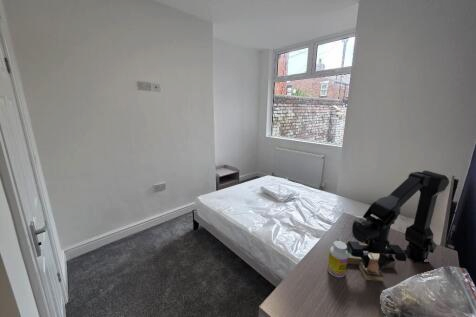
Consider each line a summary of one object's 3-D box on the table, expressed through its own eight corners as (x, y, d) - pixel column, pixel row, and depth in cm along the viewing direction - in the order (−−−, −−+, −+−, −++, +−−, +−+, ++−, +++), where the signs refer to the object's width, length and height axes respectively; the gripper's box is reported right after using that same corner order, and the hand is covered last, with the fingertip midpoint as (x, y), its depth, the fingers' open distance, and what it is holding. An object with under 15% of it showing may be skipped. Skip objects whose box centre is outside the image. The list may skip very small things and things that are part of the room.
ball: (374, 266, 80) (376, 257, 79) (380, 275, 76) (382, 265, 75) (362, 265, 81) (364, 256, 80) (367, 273, 77) (369, 264, 76)
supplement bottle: (337, 281, 76) (342, 253, 73) (323, 268, 82) (326, 242, 79) (349, 274, 79) (353, 247, 76) (334, 262, 85) (338, 237, 81)
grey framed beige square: (374, 268, 82) (375, 264, 81) (382, 281, 76) (383, 276, 75) (359, 267, 82) (359, 262, 82) (365, 279, 77) (366, 274, 76)
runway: (381, 250, 91) (383, 241, 90) (394, 268, 82) (396, 258, 80) (336, 246, 94) (337, 237, 93) (343, 263, 85) (345, 253, 83)
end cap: (351, 232, 105) (352, 221, 103) (357, 227, 109) (359, 216, 107) (372, 242, 97) (374, 230, 95) (378, 236, 101) (380, 225, 99)
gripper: (393, 223, 80) (386, 255, 85) (344, 220, 83) (339, 251, 87) (412, 242, 70) (402, 277, 74) (355, 237, 73) (349, 272, 77)
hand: (371, 268), depth 78 cm, fingers closed on ball, 4 cm apart
